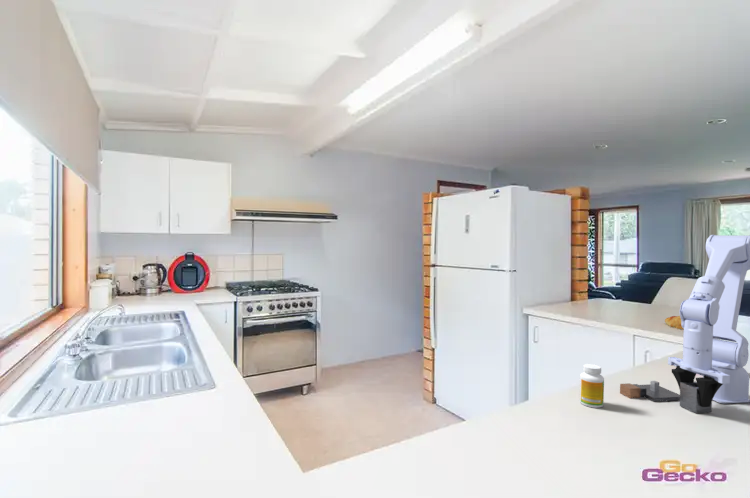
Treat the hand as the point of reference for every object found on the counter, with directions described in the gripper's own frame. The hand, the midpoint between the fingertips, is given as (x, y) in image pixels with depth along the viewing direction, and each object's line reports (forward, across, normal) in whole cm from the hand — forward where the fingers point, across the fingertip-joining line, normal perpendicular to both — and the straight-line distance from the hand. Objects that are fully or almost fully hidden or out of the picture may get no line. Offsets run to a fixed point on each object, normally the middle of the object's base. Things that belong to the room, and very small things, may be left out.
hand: (695, 402), depth 101 cm
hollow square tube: (+2, 0, 0) cm, 2 cm away
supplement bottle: (+2, -6, -24) cm, 25 cm away
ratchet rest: (+2, -10, -4) cm, 11 cm away
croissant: (+3, -86, +86) cm, 121 cm away
